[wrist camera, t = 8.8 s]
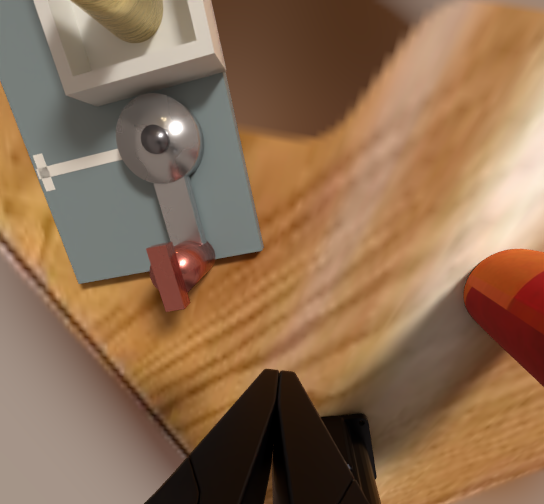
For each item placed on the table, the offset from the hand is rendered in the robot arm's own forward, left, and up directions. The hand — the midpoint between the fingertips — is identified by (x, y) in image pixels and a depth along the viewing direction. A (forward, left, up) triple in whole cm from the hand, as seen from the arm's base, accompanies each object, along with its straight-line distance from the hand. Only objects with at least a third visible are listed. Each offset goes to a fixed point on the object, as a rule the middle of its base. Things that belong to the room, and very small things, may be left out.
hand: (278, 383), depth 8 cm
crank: (+6, +6, -12) cm, 14 cm away
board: (+11, +9, -13) cm, 19 cm away
